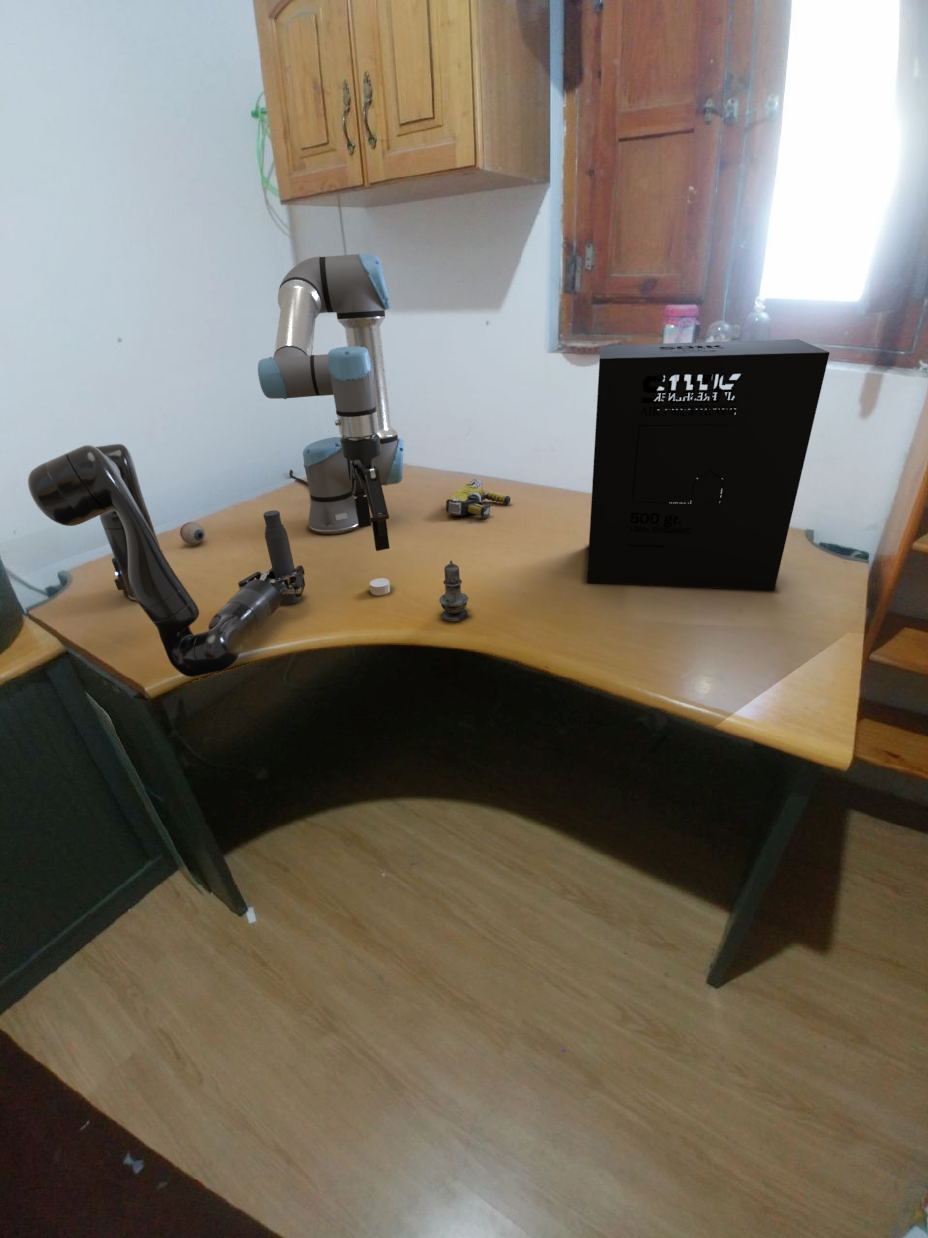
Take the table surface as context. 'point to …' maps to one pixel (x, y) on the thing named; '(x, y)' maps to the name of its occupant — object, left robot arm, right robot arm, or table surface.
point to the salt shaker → (453, 595)
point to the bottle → (279, 550)
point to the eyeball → (192, 533)
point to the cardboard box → (699, 461)
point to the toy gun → (473, 500)
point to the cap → (379, 586)
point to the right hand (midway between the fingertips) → (373, 537)
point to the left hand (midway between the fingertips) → (290, 568)
